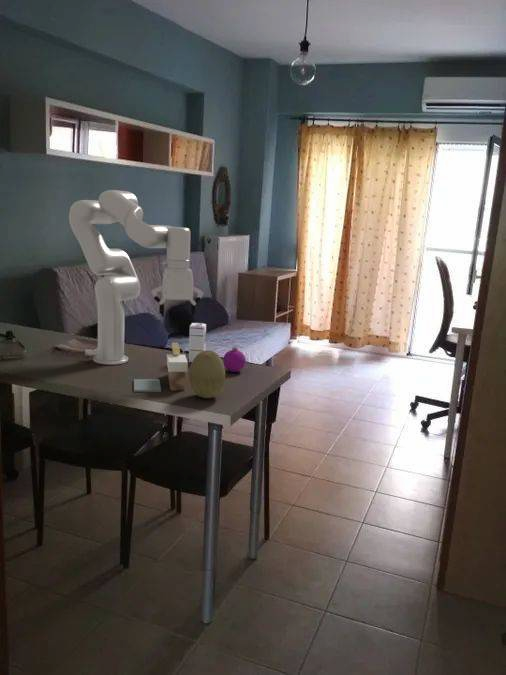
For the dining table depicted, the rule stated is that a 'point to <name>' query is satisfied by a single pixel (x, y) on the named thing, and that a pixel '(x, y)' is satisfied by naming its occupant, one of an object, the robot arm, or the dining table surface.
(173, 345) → the golden rectangular block
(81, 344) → the dining table surface
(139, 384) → the mat
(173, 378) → the housing
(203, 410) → the dining table surface
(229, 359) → the christmas ornament
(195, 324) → the syrup box
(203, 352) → the fruit
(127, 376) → the dining table surface
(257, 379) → the dining table surface
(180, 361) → the cover
